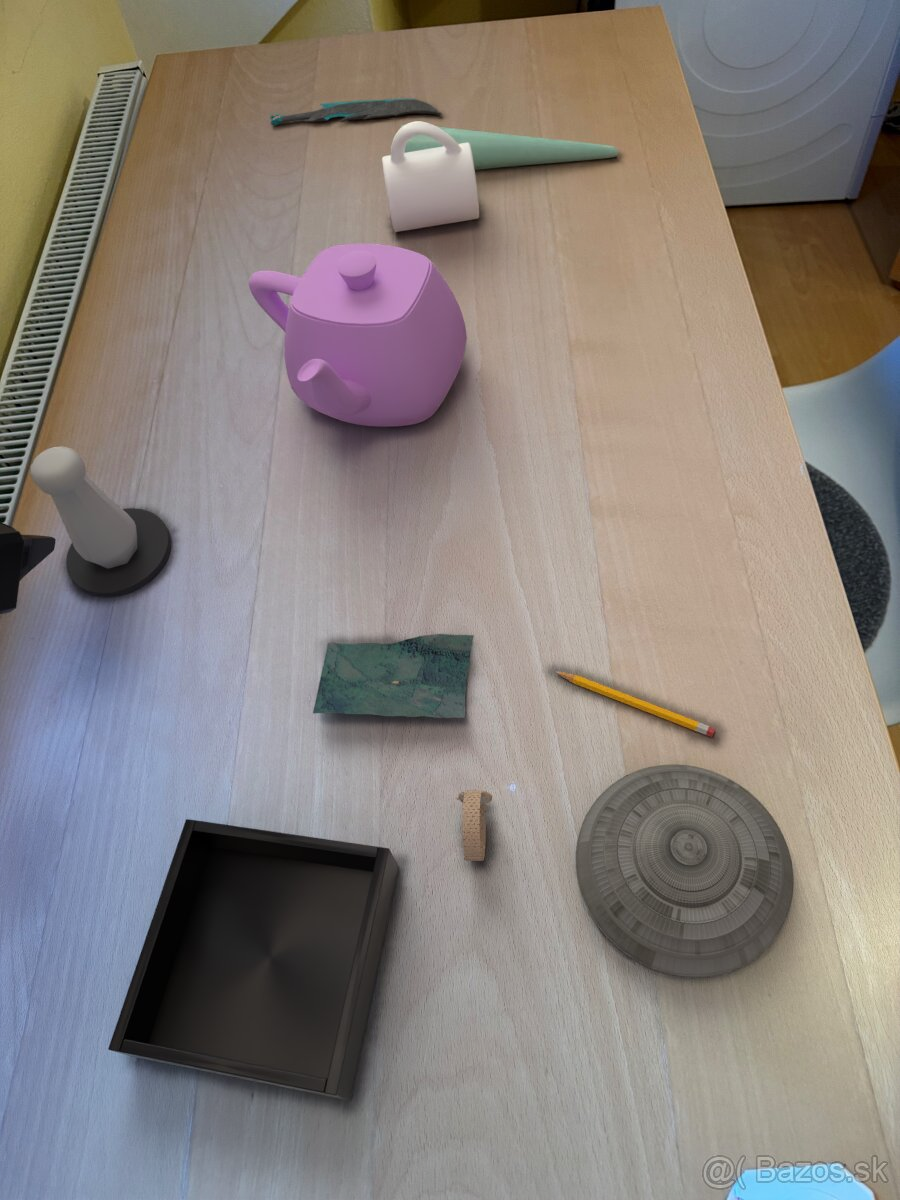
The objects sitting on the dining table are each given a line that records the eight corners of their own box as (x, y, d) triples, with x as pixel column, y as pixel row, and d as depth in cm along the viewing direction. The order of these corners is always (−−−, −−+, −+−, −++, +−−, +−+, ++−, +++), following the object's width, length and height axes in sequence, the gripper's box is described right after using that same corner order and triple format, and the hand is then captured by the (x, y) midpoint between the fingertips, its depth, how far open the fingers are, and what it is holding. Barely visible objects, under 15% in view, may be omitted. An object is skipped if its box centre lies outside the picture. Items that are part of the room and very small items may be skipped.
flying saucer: (830, 857, 64) (850, 832, 60) (711, 1031, 59) (723, 1018, 55) (654, 735, 71) (659, 704, 66) (533, 882, 66) (530, 860, 61)
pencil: (711, 739, 70) (712, 735, 70) (553, 677, 75) (553, 673, 74) (715, 730, 71) (716, 726, 70) (557, 669, 75) (557, 665, 75)
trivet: (82, 614, 84) (78, 609, 83) (60, 539, 89) (56, 534, 88) (183, 569, 85) (180, 564, 84) (156, 498, 90) (153, 493, 90)
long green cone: (620, 126, 107) (397, 140, 110) (618, 169, 111) (404, 181, 115) (619, 101, 110) (402, 115, 113) (617, 144, 114) (409, 157, 118)
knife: (274, 109, 128) (268, 129, 125) (272, 101, 127) (266, 121, 124) (445, 98, 125) (442, 118, 122) (444, 91, 124) (441, 111, 121)
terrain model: (315, 724, 75) (310, 713, 73) (329, 644, 79) (324, 632, 77) (469, 726, 73) (467, 715, 71) (475, 644, 77) (473, 633, 76)
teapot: (308, 316, 103) (271, 195, 90) (484, 338, 98) (471, 214, 85) (223, 465, 92) (168, 351, 79) (417, 500, 87) (390, 384, 74)
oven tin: (135, 1057, 62) (107, 1049, 59) (206, 837, 70) (185, 818, 67) (351, 1101, 59) (336, 1095, 56) (399, 866, 68) (389, 848, 64)
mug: (481, 232, 108) (472, 135, 98) (396, 246, 108) (378, 151, 98) (473, 192, 112) (464, 95, 102) (391, 206, 113) (374, 110, 103)
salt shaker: (76, 551, 87) (5, 461, 76) (126, 516, 88) (64, 423, 78) (105, 586, 84) (36, 498, 73) (156, 550, 86) (96, 458, 75)
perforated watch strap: (494, 807, 69) (489, 783, 65) (493, 869, 67) (488, 848, 62) (459, 807, 70) (452, 783, 65) (457, 869, 67) (450, 848, 63)
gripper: (-78, 469, 55) (112, 463, 69) (-267, 391, 61) (-58, 399, 75) (-92, 637, 58) (92, 598, 72) (-271, 546, 64) (-69, 527, 78)
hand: (12, 526), depth 74 cm, fingers open, 9 cm apart
